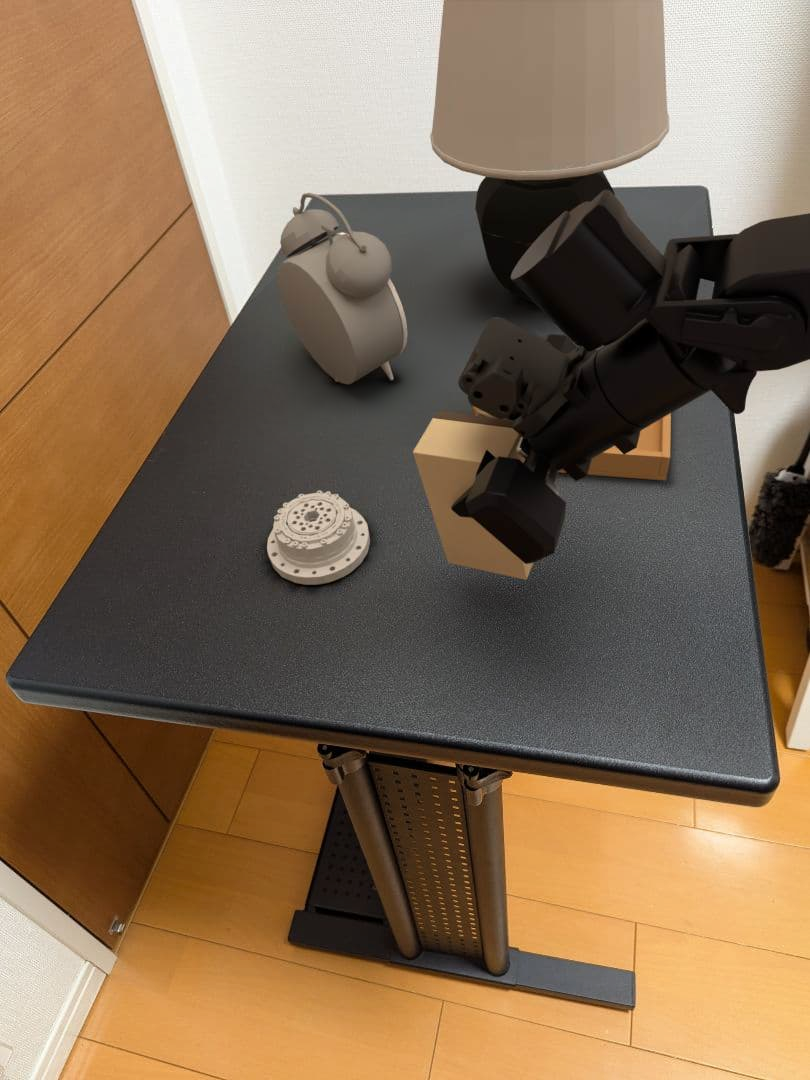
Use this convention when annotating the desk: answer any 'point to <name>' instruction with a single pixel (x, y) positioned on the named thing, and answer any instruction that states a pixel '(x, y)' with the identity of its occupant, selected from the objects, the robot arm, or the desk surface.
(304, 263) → the alarm clock
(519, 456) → the back pad
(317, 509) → the mechanical component
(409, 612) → the desk surface
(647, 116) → the table lamp
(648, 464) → the mount frame
